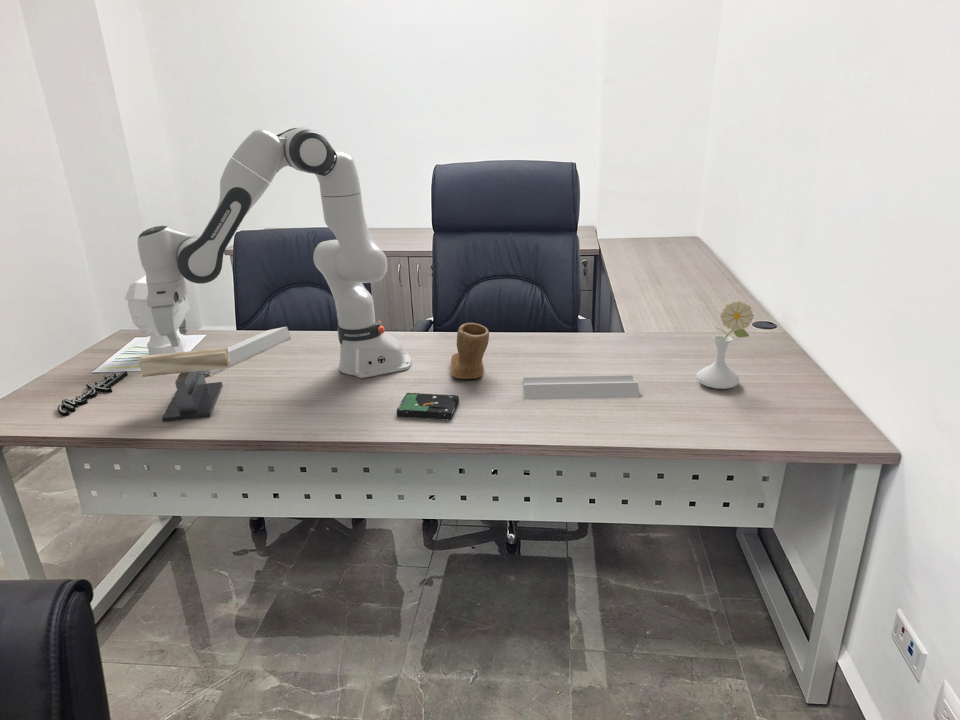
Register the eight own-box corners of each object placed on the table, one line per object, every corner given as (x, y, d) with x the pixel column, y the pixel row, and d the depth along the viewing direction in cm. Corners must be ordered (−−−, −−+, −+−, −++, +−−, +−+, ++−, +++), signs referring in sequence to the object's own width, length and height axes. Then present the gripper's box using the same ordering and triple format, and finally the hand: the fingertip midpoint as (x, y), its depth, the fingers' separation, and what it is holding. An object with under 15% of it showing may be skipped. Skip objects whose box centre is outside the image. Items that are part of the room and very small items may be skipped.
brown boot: (490, 381, 184) (489, 333, 178) (449, 382, 184) (447, 334, 178) (489, 360, 198) (488, 315, 192) (451, 362, 198) (449, 316, 192)
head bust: (125, 366, 203) (102, 282, 192) (160, 344, 220) (141, 266, 209) (170, 368, 201) (149, 283, 190) (202, 345, 218) (184, 266, 207)
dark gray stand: (222, 385, 187) (215, 353, 183) (210, 416, 169) (202, 382, 165) (179, 390, 185) (172, 358, 181) (162, 422, 167) (153, 387, 163)
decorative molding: (193, 379, 200) (212, 376, 194) (187, 365, 198) (206, 362, 193) (272, 342, 227) (291, 339, 221) (268, 330, 226) (286, 326, 220)
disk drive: (459, 404, 173) (407, 400, 175) (459, 394, 172) (406, 391, 174) (451, 422, 163) (396, 418, 166) (451, 412, 162) (395, 409, 165)
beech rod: (146, 371, 173) (142, 356, 171) (230, 362, 177) (227, 347, 175) (142, 377, 169) (138, 361, 168) (228, 367, 173) (225, 352, 172)
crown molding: (631, 381, 182) (632, 370, 181) (639, 400, 172) (640, 388, 170) (523, 383, 183) (523, 371, 182) (524, 402, 173) (524, 390, 171)
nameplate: (78, 412, 171) (43, 413, 172) (80, 417, 172) (45, 418, 172) (134, 371, 196) (103, 371, 197) (136, 375, 197) (105, 375, 198)
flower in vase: (688, 385, 177) (697, 300, 168) (706, 372, 185) (716, 290, 175) (734, 398, 169) (747, 309, 159) (751, 384, 177) (764, 298, 167)
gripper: (164, 280, 173) (176, 327, 179) (144, 303, 155) (158, 355, 160) (189, 278, 174) (200, 325, 180) (171, 300, 156) (184, 352, 161)
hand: (180, 339), depth 170 cm, fingers open, 8 cm apart
